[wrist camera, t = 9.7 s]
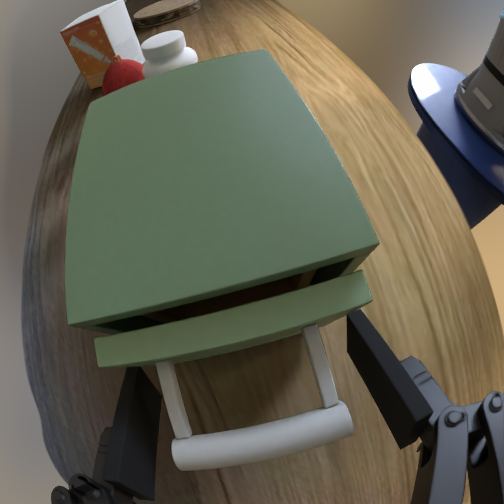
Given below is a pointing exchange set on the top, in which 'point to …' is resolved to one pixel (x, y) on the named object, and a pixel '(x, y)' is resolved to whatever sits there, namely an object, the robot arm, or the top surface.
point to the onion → (121, 74)
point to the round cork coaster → (165, 12)
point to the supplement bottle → (166, 53)
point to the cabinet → (203, 194)
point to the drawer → (236, 338)
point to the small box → (102, 41)
